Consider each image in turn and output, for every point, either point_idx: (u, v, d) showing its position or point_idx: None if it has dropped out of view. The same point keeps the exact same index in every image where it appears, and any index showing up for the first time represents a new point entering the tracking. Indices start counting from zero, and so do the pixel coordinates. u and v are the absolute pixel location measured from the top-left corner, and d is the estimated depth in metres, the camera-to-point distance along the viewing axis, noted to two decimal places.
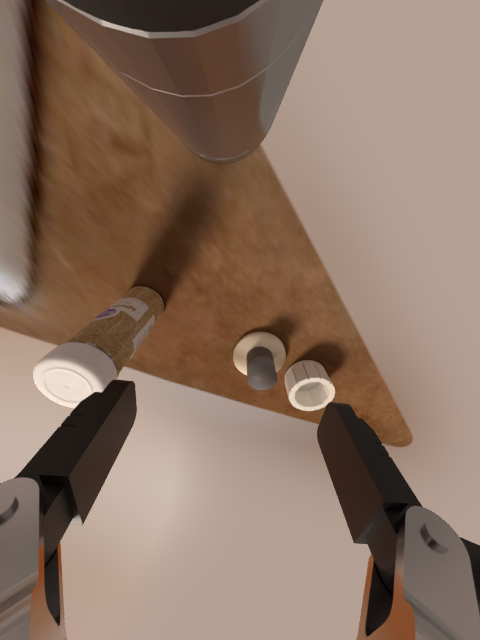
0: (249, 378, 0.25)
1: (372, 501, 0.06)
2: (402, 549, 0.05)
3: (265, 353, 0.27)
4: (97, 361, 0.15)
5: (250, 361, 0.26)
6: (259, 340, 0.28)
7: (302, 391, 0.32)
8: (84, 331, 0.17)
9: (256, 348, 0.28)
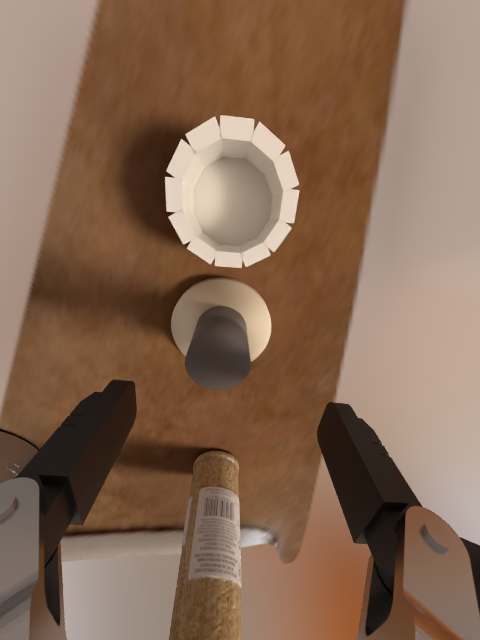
0: (228, 384, 0.12)
1: (372, 501, 0.06)
2: (402, 549, 0.05)
3: None
4: None
5: None
6: (189, 343, 0.16)
7: (270, 190, 0.12)
8: None
9: None
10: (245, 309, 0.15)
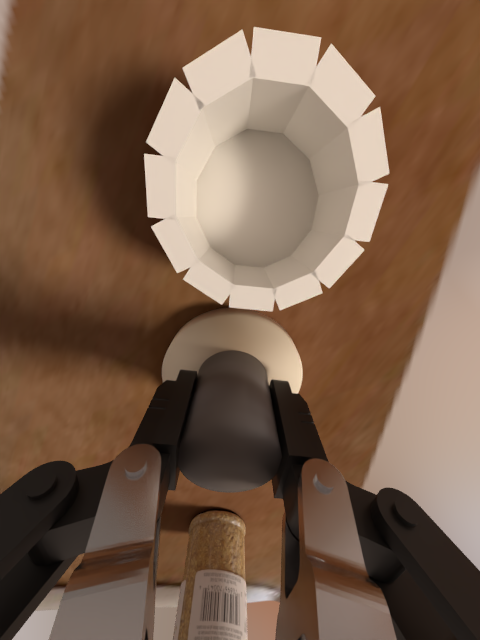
0: (244, 485, 0.08)
1: (284, 457, 0.07)
2: (302, 507, 0.05)
3: None
4: None
5: None
6: None
7: (317, 185, 0.08)
8: None
9: None
10: (267, 355, 0.10)
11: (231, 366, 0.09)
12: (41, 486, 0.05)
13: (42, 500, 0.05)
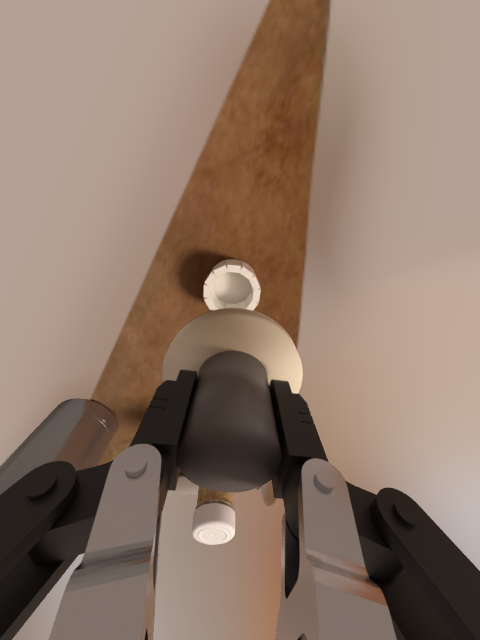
0: (244, 486, 0.08)
1: (284, 457, 0.07)
2: (302, 507, 0.05)
3: None
4: (194, 519, 0.23)
5: None
6: None
7: None
8: None
9: None
10: (267, 356, 0.10)
11: (231, 366, 0.09)
12: (41, 486, 0.05)
13: (42, 500, 0.05)
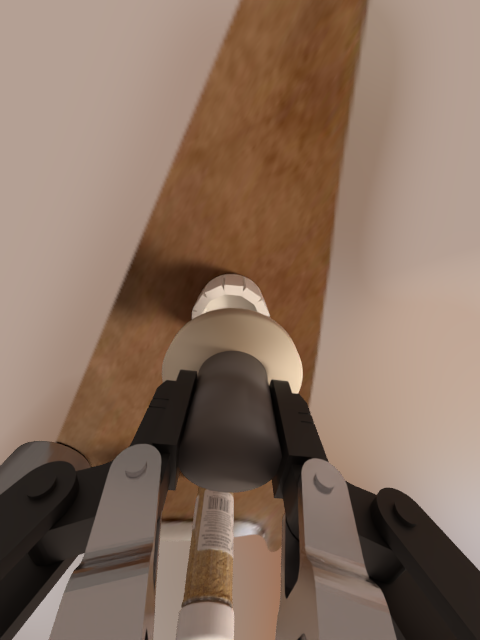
0: (244, 486, 0.08)
1: (284, 457, 0.07)
2: (301, 507, 0.05)
3: None
4: (179, 626, 0.17)
5: None
6: None
7: None
8: None
9: None
10: (267, 356, 0.10)
11: (231, 366, 0.09)
12: (41, 486, 0.05)
13: (42, 500, 0.05)
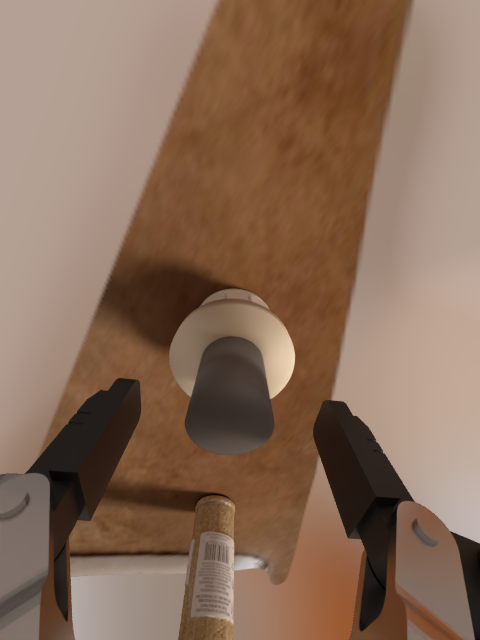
0: (242, 449, 0.09)
1: (365, 496, 0.06)
2: (394, 544, 0.05)
3: None
4: None
5: None
6: (191, 379, 0.13)
7: None
8: None
9: None
10: (263, 341, 0.12)
11: (231, 348, 0.10)
12: None
13: None
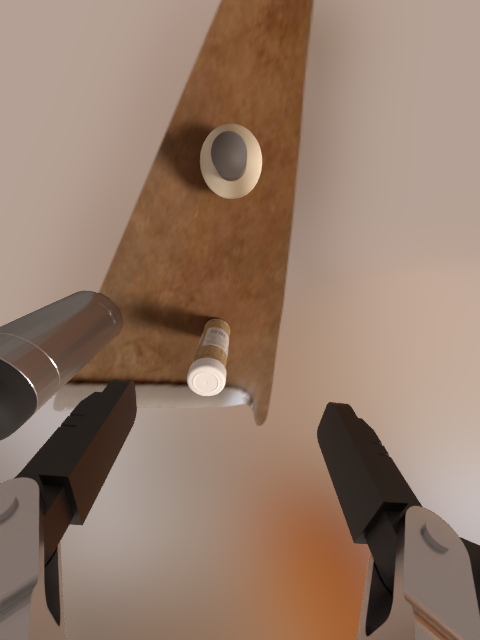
0: (234, 171, 0.21)
1: (372, 501, 0.06)
2: (402, 549, 0.05)
3: None
4: (189, 369, 0.26)
5: (224, 177, 0.23)
6: (210, 173, 0.25)
7: None
8: None
9: (218, 173, 0.25)
10: (246, 147, 0.24)
11: None
12: None
13: None
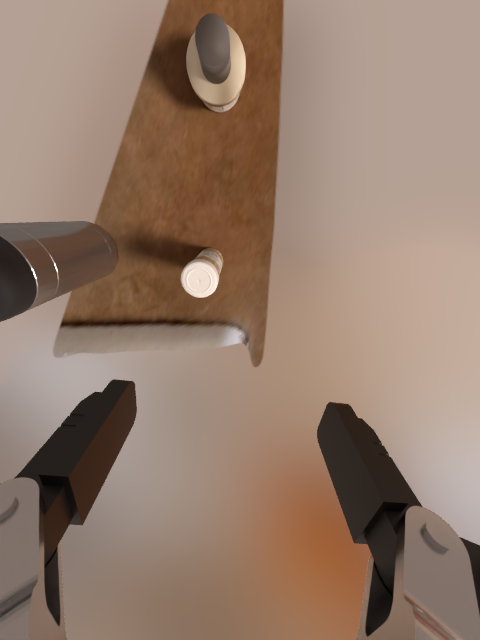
0: (218, 58, 0.23)
1: (372, 501, 0.06)
2: (402, 549, 0.05)
3: None
4: None
5: (209, 72, 0.24)
6: (196, 76, 0.26)
7: None
8: None
9: (204, 75, 0.26)
10: (230, 47, 0.25)
11: None
12: None
13: None
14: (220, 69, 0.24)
